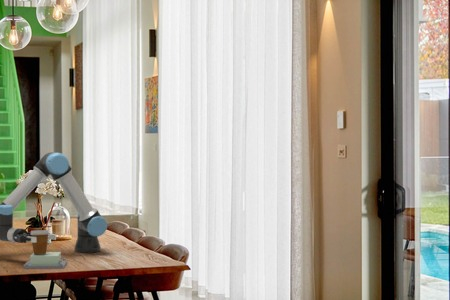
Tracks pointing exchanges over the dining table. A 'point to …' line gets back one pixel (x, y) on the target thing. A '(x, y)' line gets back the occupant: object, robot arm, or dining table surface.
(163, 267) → the dining table surface
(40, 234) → the disposable coffee cup
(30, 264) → the tower base
